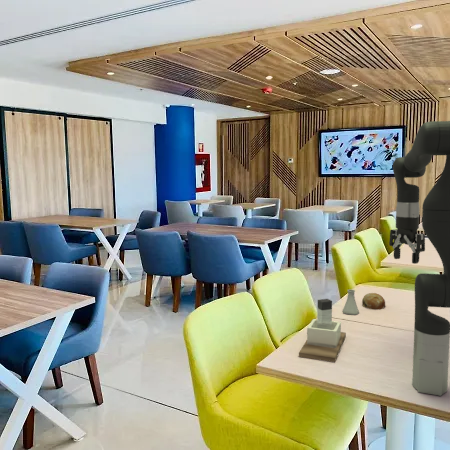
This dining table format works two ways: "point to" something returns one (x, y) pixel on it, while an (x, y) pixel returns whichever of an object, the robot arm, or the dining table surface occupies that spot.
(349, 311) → the flask
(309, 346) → the serving board
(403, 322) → the dining table surface
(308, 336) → the pale open square box
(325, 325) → the grey tall bar
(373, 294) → the bread roll
